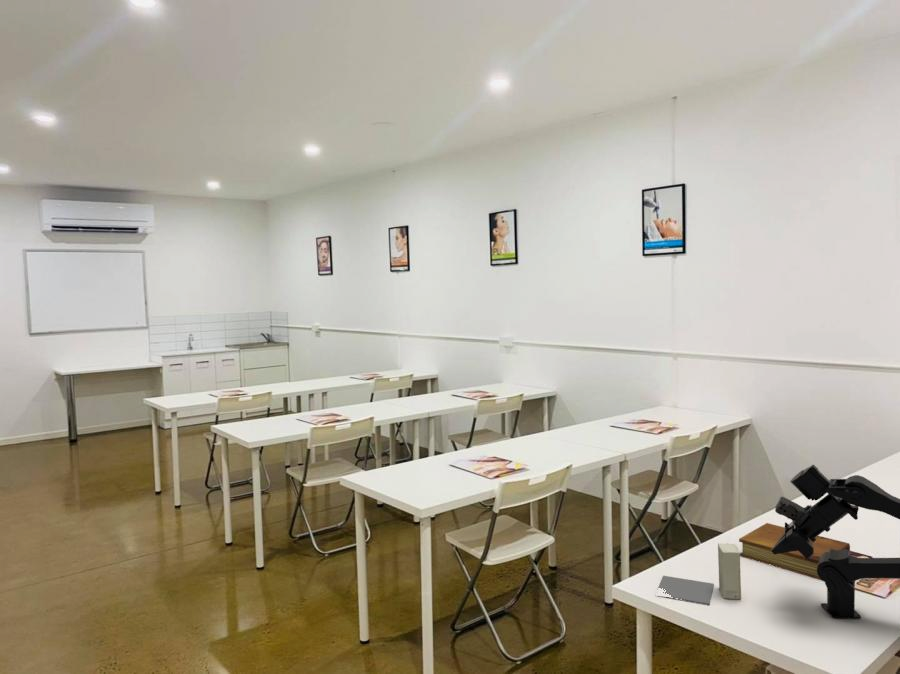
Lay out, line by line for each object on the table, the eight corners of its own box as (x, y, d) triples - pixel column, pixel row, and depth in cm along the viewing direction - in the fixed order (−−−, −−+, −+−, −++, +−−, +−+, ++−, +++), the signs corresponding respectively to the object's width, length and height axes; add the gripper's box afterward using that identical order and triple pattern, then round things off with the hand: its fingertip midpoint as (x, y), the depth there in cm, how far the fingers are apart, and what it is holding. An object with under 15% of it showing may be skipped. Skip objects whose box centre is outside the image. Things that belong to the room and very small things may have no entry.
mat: (713, 585, 174) (713, 583, 174) (709, 605, 163) (709, 603, 163) (663, 576, 180) (663, 575, 180) (655, 595, 169) (655, 594, 169)
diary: (849, 562, 187) (850, 542, 186) (823, 583, 175) (824, 562, 174) (767, 539, 204) (768, 521, 204) (739, 557, 192) (739, 538, 192)
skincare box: (741, 599, 166) (741, 553, 165) (722, 598, 167) (722, 552, 166) (735, 588, 172) (735, 543, 171) (717, 587, 173) (717, 542, 172)
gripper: (796, 478, 168) (749, 515, 174) (797, 500, 152) (745, 540, 158) (831, 512, 165) (782, 548, 171) (836, 538, 149) (782, 577, 155)
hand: (772, 552), depth 164 cm, fingers closed
